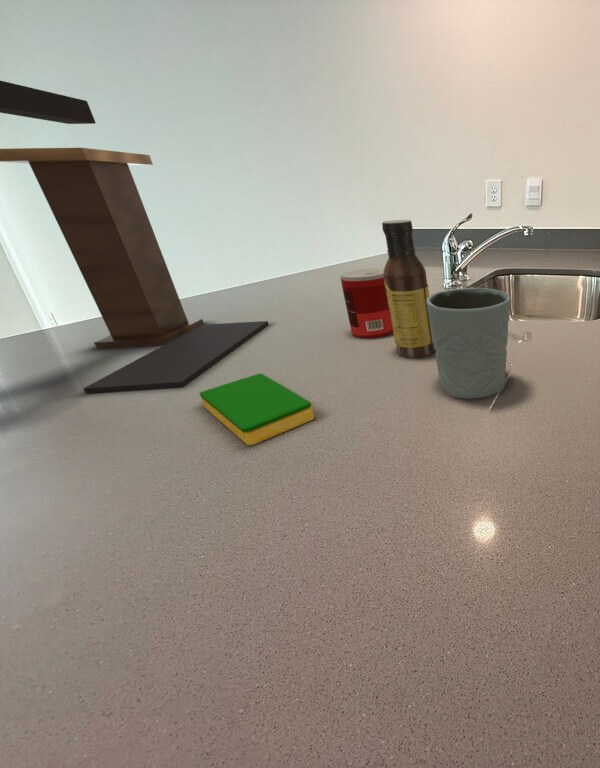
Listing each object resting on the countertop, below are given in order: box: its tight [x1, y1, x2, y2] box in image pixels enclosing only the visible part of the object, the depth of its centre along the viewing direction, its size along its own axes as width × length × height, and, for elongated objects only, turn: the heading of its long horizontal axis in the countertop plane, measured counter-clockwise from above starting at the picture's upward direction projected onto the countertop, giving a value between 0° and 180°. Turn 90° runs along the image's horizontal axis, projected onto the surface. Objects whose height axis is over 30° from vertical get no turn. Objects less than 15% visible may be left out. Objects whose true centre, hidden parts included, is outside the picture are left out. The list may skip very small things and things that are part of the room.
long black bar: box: [0, 80, 97, 125], centre depth 52 cm, size 24×4×3 cm, turn 7°
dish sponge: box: [199, 373, 315, 446], centre depth 48 cm, size 7×14×2 cm, turn 51°
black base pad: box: [82, 320, 270, 395], centre depth 67 cm, size 28×12×1 cm, turn 7°
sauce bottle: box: [381, 219, 436, 358], centre depth 61 cm, size 6×6×20 cm
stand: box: [0, 147, 205, 350], centre depth 69 cm, size 14×12×30 cm
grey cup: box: [426, 287, 511, 400], centre depth 51 cm, size 10×10×12 cm
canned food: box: [340, 268, 394, 339], centre depth 72 cm, size 8×8×11 cm
